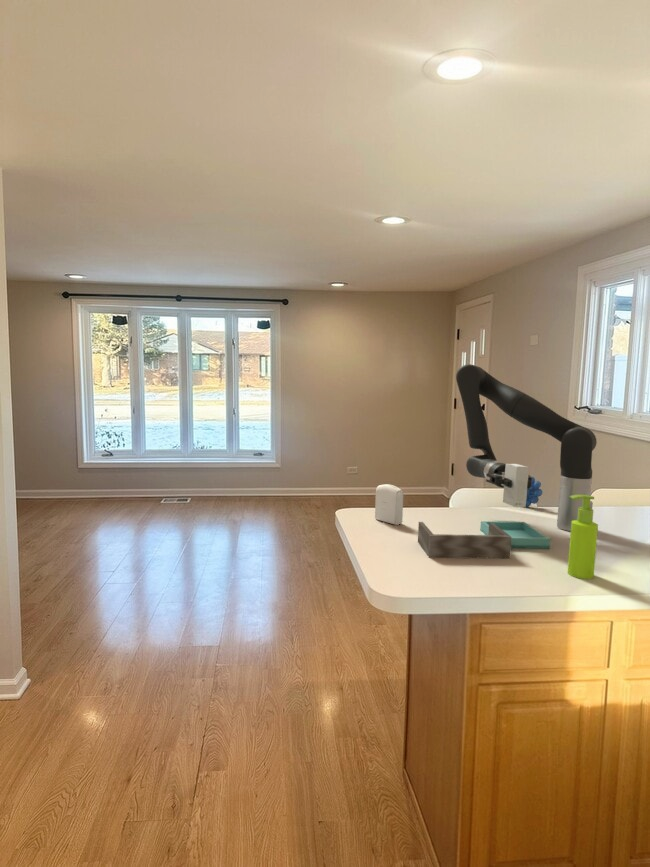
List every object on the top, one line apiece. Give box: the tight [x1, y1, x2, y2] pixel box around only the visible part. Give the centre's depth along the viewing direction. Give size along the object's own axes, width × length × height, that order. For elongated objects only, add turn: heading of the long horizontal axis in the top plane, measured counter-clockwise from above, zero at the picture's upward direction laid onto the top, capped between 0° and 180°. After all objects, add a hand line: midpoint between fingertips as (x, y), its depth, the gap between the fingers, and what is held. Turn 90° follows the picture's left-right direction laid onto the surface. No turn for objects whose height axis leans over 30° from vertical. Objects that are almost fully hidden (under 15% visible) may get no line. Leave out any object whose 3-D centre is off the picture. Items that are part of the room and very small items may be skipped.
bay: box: [417, 521, 512, 559], centre depth 149 cm, size 22×14×6 cm, turn 93°
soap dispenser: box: [567, 495, 599, 580], centre depth 132 cm, size 6×7×20 cm
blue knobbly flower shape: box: [524, 476, 543, 508], centre depth 205 cm, size 12×7×12 cm, turn 42°
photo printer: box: [374, 483, 404, 526], centre depth 177 cm, size 10×4×12 cm, turn 39°
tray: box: [479, 520, 551, 550], centre depth 161 cm, size 14×18×3 cm
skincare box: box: [502, 463, 530, 508], centre depth 160 cm, size 6×4×12 cm
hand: (520, 484), depth 157 cm, fingers closed on skincare box, 5 cm apart
